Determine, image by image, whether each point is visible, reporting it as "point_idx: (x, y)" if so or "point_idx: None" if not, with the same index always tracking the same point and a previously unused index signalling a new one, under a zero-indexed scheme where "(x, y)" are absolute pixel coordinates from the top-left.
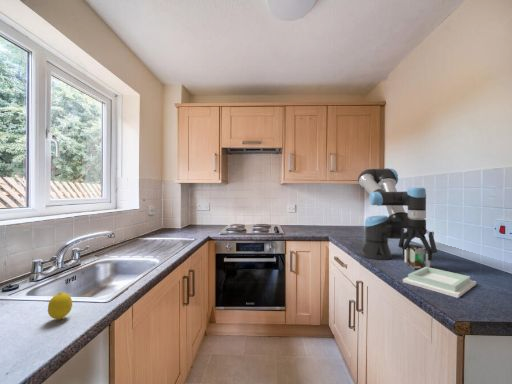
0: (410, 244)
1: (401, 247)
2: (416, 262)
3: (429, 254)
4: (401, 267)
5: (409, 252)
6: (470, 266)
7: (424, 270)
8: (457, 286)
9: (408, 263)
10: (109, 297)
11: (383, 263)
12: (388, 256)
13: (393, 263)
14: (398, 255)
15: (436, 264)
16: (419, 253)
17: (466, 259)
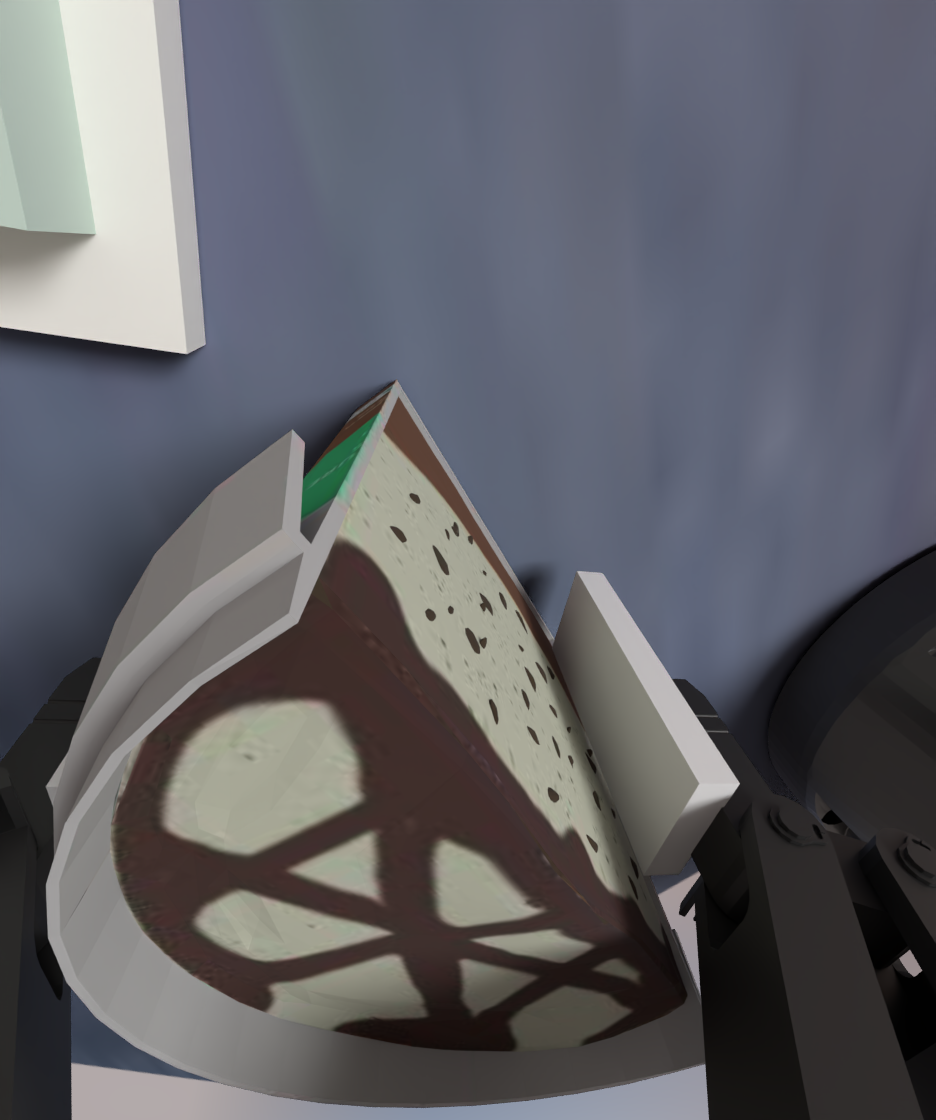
0: (653, 1070)
1: (837, 842)
2: (347, 433)
3: (29, 799)
4: (613, 356)
5: (593, 786)
6: None
7: None
8: None
9: (548, 638)
10: None
11: (911, 382)
12: (845, 677)
13: (746, 512)
14: (689, 860)
15: None
16: (161, 547)
17: (181, 1075)
